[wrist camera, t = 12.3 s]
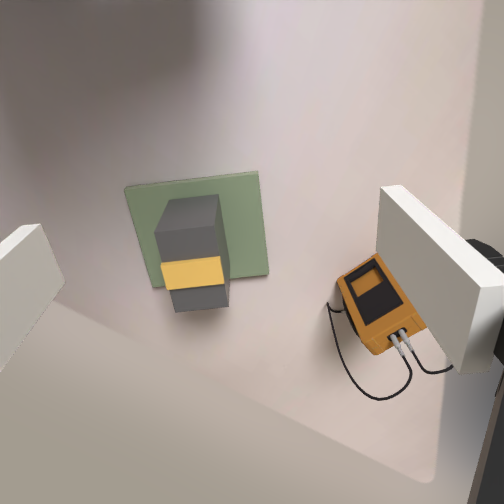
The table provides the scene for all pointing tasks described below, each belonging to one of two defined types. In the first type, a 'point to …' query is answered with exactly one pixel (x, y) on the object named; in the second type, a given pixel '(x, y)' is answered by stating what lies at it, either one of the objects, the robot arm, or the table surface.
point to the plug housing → (194, 253)
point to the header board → (233, 213)
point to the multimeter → (379, 313)
